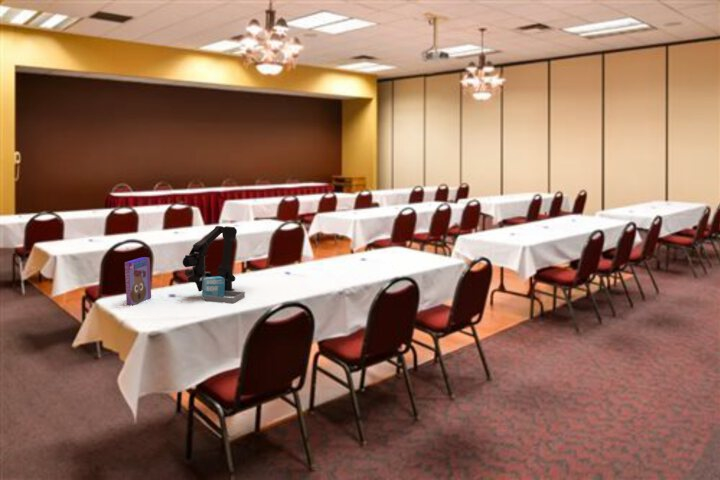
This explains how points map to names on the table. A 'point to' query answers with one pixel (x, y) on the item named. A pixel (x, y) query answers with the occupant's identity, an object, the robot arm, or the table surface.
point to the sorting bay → (235, 298)
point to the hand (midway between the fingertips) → (200, 291)
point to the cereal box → (138, 280)
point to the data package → (213, 286)
